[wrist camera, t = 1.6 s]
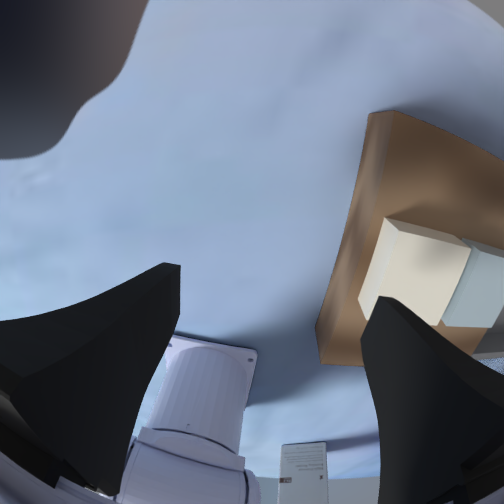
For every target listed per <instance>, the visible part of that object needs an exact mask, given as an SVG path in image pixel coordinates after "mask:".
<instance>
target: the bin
mask: <svg viewBox="0 0 504 504" xmlns="http://www.w3.org/2000/svg"><path fill="white" fill-rule="evenodd" d="M471 357H472V358H474V359H475V360H481V359H492V358H501V357H504V306H503V308H502V310H501V312H500V313H499V315H498V317H497V319H496V321H495V323H494V324H493V326H492V328H488V329H487V331H486V333H485V334H484V336H483V338H482V339H481V341H480V342H479V344H478V346H477V347H476V349H475V350H474V352H473V353H472V355H471Z"/></svg>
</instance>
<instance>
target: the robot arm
mask: <svg viewBox="0 0 504 504" xmlns="http://www.w3.org/2000/svg"><path fill="white" fill-rule="evenodd" d="M180 269H181V265H176V264H171V263H165V262H164V263H161V264H159V265H157V266H155V267H153V268H151V269H149V270H147V271H145V272H143V273H141V274H139V275H138V276H136V277H134V278H132V279H130V280H128V281H126V282H124V283H122V284H120V285H118V286H116V287H114V288H112V289H110V290H108V291H105V292H103V293H101V294H99V295H97V296H95V297H92V298H90V299H87V300H85V301H82V302H79V303H77V304H74V305H71V306H68V307H65V308H61V309H58V310H54V311H50V312H47V313H43V314H39V315H35V316H30V317H25V318H19V319H12V320H5V321H0V504H260V502H261V491H260V486H259V482H258V481H257V479H256V477H255V475H254V474H253V472H252V471H250V470H248V469H244V466H245V457H242V456H239V455H238V453H239V445H240V437H241V429H242V421H243V413H244V411H245V408H246V403H247V399H248V395H249V391H250V387H251V383H252V378H253V374H254V370H255V365H256V361H257V356H258V353H257V351H255V350H253V349H246V348H240V347H234V346H228V345H222V344H217V343H211V342H206V341H201V340H196V339H191V338H186V337H181V336H177V335H173V333H174V330H175V327H176V324H177V321H178V318H179V315H180ZM169 343H171V344H169ZM360 343H361V351H362V358H363V364H364V368H365V371H366V375H367V379H368V382H369V386H370V390H371V394H372V397H373V401H374V405H375V409H376V414H377V419H378V427H379V438H380V459H381V468H380V488H379V497H378V504H504V375H502V374H500V373H498V372H496V371H494V370H493V369H491V368H489V367H487V366H485V365H484V364H482V363H480V362H479V361H477V360H475V359H474V358H472V357H471V356H469V355H468V354H466V353H465V352H463V351H462V350H461V349H459V348H458V347H456V346H455V345H454V344H452V343H451V342H450V341H449V340H447V339H446V338H445V337H443V336H442V335H441V334H440V333H438V332H437V331H436V330H435V329H433V328H432V327H431V326H430V325H429V324H427V323H426V322H425V321H424V320H423V319H421V318H420V317H419V316H418V315H416V314H415V313H414V312H413V311H412V310H410V309H409V308H408V307H406V306H405V305H404V304H402V303H401V302H400V301H398V300H396V299H395V298H393V297H386V296H378V299H377V301H376V304H375V306H374V309H373V311H372V313H371V316H370V318H369V320H368V322H367V325H366V327H365V329H364V331H363V334H362V336H361V338H360ZM164 352H165V358H166V369H167V372H166V375H165V377H164V380H163V382H162V385H161V387H160V390H159V392H158V395H157V397H156V400H155V403H154V405H153V408H152V410H151V413H150V416H149V418H148V421H147V424H146V426H145V427H142V428H141V430H140V433H139V436H138V438H137V437H136V436H134V435H132V433H133V429H134V426H135V422H136V419H137V416H138V412H139V409H140V406H141V403H142V400H143V397H144V394H145V392H146V390H147V387H148V385H149V383H150V381H151V379H152V377H153V374H154V372H155V370H156V368H157V366H158V364H159V362H160V360H161V358H162V356H163V354H164ZM249 358H252V359H249ZM85 487H86V488H88V489H90V490H92V491H95V492H96V491H97V492H99V495H98V494H96V493H94V492H92V491H89V490H87V489H85Z"/></svg>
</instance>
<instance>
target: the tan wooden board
mask: <svg viewBox="0 0 504 504" xmlns="http://www.w3.org/2000/svg"><path fill="white" fill-rule="evenodd" d="M384 217H385V218H389V219H393V220H398V221H402V222H406V223H410V224H414V225H418V226H422V227H426V228H429V229H433V230H437V231H441V232H444V233H448V234H452V235H454V236H456V237H457V238H458V239H460V240H462V238H466V239H469V240H472V241H476V242H479V243H482V244H486V245H489V246H492V247H495V248H498V249H501V250H504V161H502V160H501V159H499V158H497V157H495V156H494V155H492V154H490V153H489V152H487V151H485V150H483V149H481V148H479V147H478V146H476V145H474V144H472V143H470V142H468V141H466V140H464V139H462V138H460V137H458V136H456V135H454V134H451V133H449V132H447V131H445V130H443V129H440V128H438V127H436V126H434V125H431V124H429V123H426V122H424V121H421V120H419V119H416V118H414V117H411V116H409V115H406V114H403V113H400V112H398V111H395V110H393V111H385V112H377V113H370V114H369V117H368V123H367V129H366V134H365V140H364V145H363V151H362V156H361V161H360V166H359V170H358V175H357V180H356V184H355V189H354V193H353V197H352V202H351V206H350V210H349V214H348V218H347V222H346V226H345V230H344V234H343V237H342V241H341V245H340V248H339V252H338V256H337V259H336V263H335V266H334V269H333V273H332V276H331V279H330V283H329V286H328V289H327V292H326V296H325V299H324V302H323V305H322V308H321V311H320V314H319V317H318V320H317V323H316V326H315V331H316V337H317V344H318V350H319V357H320V364H329V365H344V366H364V364H363V358H362V351H361V343H360V338H361V336H362V334H363V331H364V329H365V327H366V325H367V322H368V320H366V318H365V316H364V313H363V311H362V309H361V306H360V304H359V301H358V297H359V294H360V291H361V289H362V286H363V283H364V280H365V277H366V275H367V272H368V269H369V266H370V263H371V260H372V257H373V254H374V250H375V247H376V244H377V241H378V237H379V234H380V231H381V227H382V224H383V220H384ZM430 326H431V327H432V328H433V329H435V330H436V331H437V332H438V333H440V334H441V335H442V336H443V337H445V338H446V339H447V340H449V341H450V342H451V343H452V344H454V345H455V346H456V347H458V348H459V349H461V350H462V351H463V352H465V353H466V354H468V355H469V356H471V355H472V353H473V352H474V350H475V349H476V347H477V346H478V344H479V342H480V341H481V339H482V338H483V336H484V334H485V333H486V331H487V329H488V328H483V327H454V326H446V325H445V324H444V322H443V321H442V319H440V321H439V323H438V325H437V326H435V325H430Z"/></svg>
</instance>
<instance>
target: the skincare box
mask: <svg viewBox="0 0 504 504" xmlns="http://www.w3.org/2000/svg"><path fill="white" fill-rule="evenodd" d="M328 503H329V502H328V472H327V454H326V442H320V443H308V444H294V445H283V446H281V455H280V473H279V490H278V504H328Z"/></svg>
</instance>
